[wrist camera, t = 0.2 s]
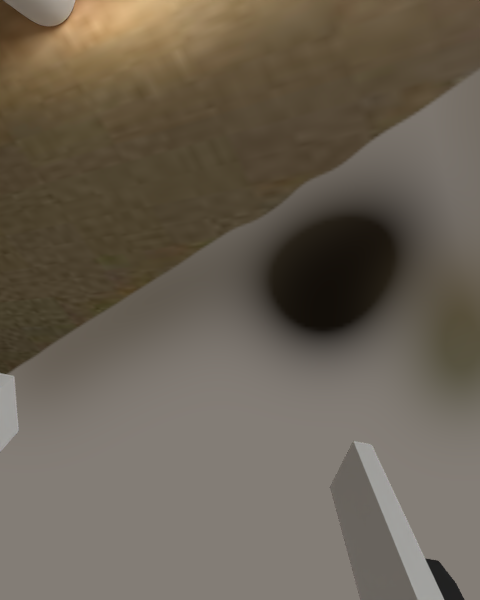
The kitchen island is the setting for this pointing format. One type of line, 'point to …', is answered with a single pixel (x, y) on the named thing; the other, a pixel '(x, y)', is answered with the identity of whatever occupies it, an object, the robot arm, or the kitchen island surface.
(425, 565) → the robot arm
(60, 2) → the can
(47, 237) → the kitchen island surface
